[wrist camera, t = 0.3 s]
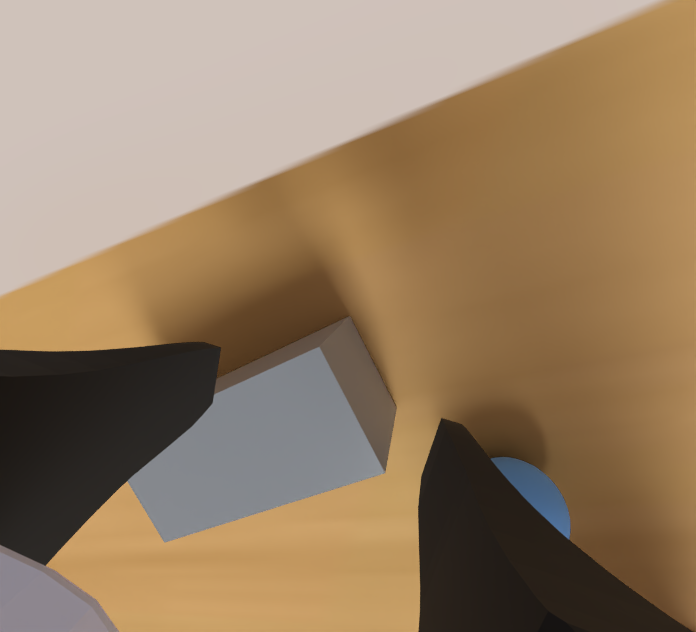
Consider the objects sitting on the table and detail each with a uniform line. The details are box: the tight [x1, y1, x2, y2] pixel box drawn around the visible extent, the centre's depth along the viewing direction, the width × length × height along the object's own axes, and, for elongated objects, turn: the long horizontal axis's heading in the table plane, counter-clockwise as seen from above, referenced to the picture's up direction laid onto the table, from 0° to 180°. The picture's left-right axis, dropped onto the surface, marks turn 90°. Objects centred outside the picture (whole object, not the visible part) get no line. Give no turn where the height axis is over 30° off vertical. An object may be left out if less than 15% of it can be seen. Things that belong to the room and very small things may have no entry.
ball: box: [491, 457, 570, 539], centre depth 17 cm, size 5×5×5 cm
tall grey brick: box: [128, 316, 397, 542], centre depth 19 cm, size 6×13×6 cm, turn 117°
